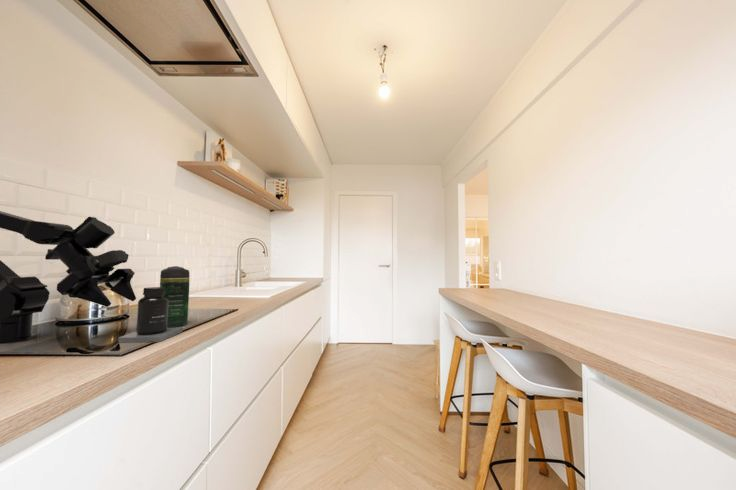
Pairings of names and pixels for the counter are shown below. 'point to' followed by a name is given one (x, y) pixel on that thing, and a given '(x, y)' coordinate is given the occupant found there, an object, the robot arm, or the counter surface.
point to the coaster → (150, 336)
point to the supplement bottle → (152, 311)
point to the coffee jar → (176, 294)
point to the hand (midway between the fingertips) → (122, 302)
